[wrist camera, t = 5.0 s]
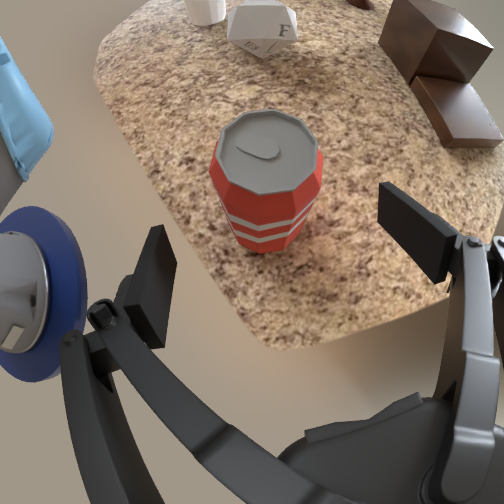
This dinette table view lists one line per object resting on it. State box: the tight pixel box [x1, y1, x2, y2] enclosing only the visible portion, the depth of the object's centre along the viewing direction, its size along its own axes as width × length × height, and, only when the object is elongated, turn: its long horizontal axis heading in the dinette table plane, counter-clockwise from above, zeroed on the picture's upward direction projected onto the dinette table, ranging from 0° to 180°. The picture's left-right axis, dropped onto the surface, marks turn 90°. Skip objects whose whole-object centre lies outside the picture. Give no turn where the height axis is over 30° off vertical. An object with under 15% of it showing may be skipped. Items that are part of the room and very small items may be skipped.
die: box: [227, 0, 298, 59], centre depth 26 cm, size 8×9×10 cm
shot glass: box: [183, 0, 226, 26], centre depth 29 cm, size 7×7×7 cm
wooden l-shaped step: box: [378, 0, 503, 148], centre depth 23 cm, size 20×12×11 cm, turn 12°
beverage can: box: [209, 109, 323, 254], centre depth 19 cm, size 6×6×12 cm
